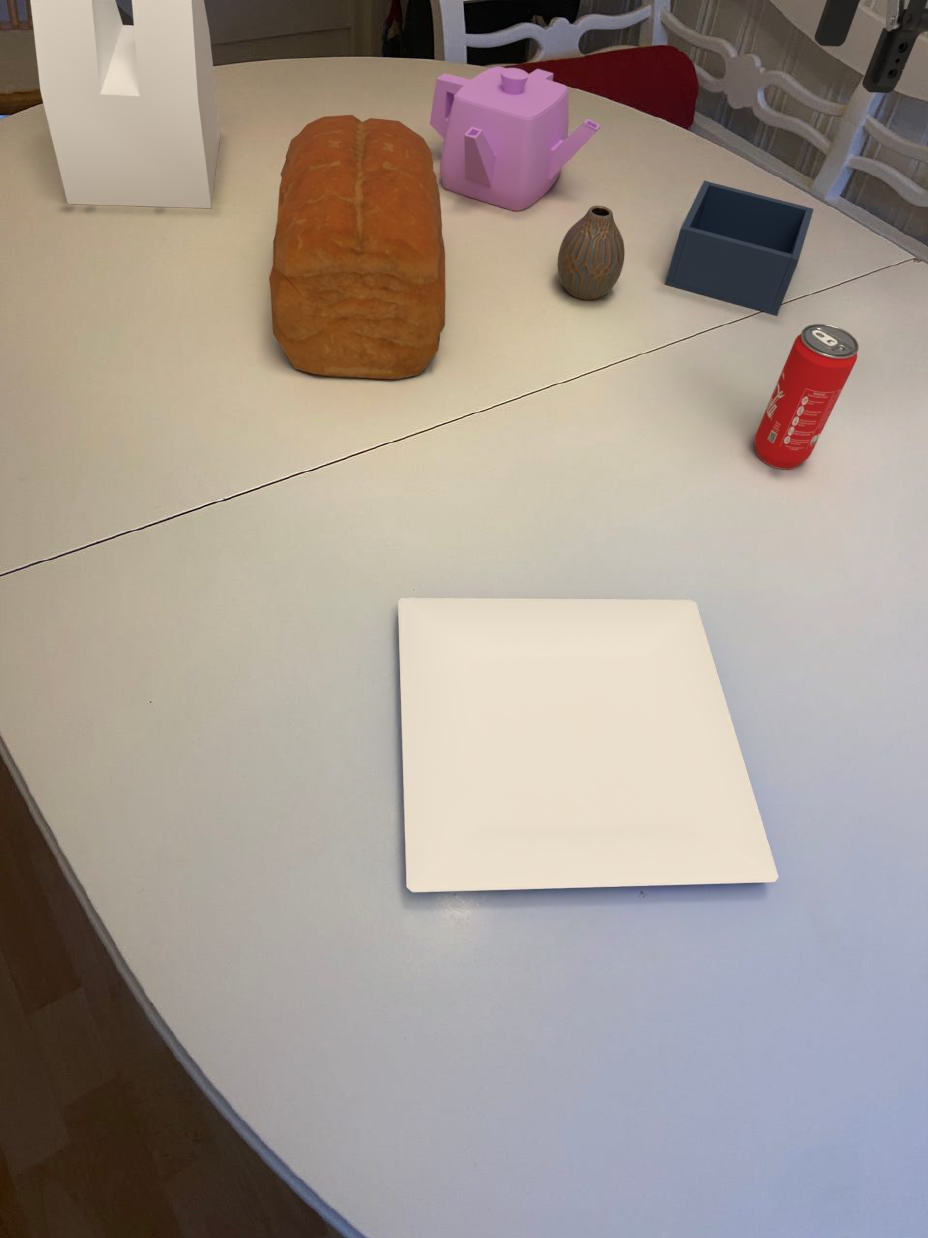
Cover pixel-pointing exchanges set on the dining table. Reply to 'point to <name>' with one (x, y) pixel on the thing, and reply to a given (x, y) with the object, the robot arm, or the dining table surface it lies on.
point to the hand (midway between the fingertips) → (851, 66)
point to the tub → (739, 247)
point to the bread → (358, 251)
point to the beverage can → (805, 395)
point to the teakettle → (504, 134)
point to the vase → (591, 255)
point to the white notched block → (129, 101)
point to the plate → (569, 748)
